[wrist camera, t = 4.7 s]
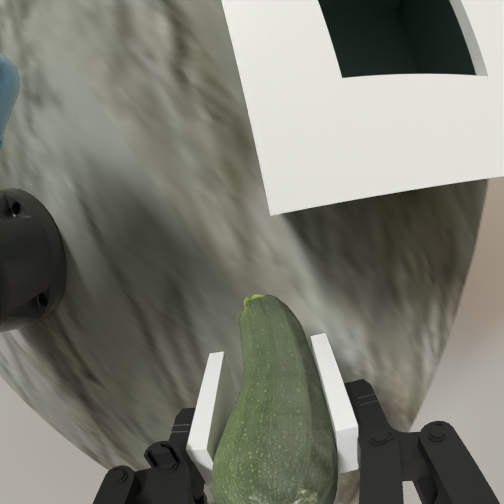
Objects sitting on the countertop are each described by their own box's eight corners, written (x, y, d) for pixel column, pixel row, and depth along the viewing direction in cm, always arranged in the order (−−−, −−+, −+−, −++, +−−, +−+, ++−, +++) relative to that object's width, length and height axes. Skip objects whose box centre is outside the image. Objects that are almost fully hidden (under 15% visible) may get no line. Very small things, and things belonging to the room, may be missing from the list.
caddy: (267, 192, 26) (270, 215, 13) (228, 19, 23) (200, -81, 9) (439, 164, 25) (549, 170, 11) (396, 5, 21) (464, -70, 8)
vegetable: (303, 283, 22) (403, 612, 2) (296, 339, 23) (346, 632, 3) (237, 280, 22) (178, 627, 2) (235, 336, 23) (197, 636, 4)
